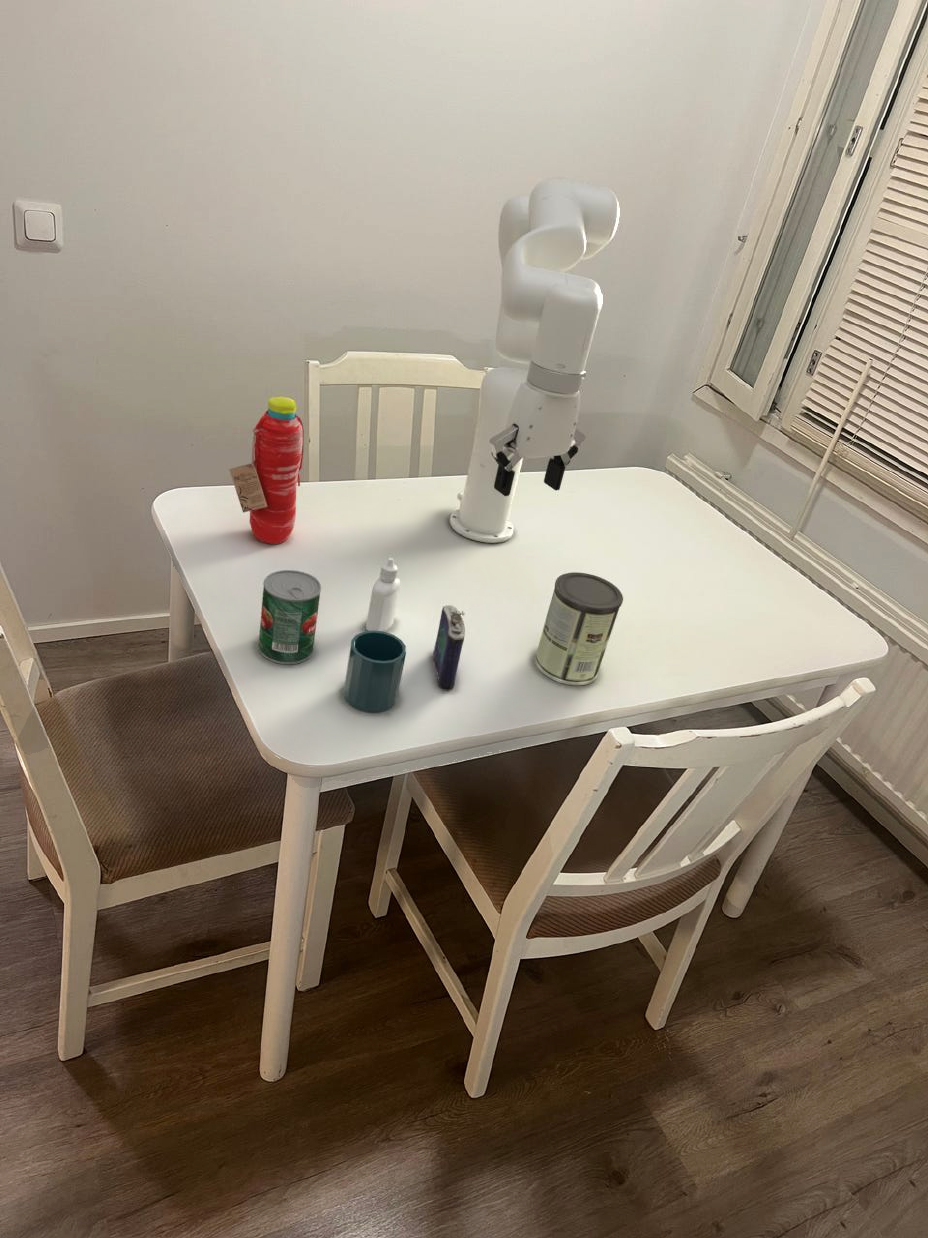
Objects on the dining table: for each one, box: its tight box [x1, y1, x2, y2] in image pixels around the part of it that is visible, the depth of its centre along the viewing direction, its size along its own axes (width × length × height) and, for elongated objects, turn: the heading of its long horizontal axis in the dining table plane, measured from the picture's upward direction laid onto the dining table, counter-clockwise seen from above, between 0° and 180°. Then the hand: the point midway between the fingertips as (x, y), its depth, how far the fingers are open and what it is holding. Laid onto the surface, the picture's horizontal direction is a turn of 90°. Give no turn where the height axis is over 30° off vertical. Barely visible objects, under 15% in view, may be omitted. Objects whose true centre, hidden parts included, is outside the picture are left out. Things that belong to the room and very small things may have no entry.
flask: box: [432, 604, 466, 691], centre depth 129 cm, size 9×3×11 cm, turn 8°
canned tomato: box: [257, 569, 322, 665], centre depth 126 cm, size 8×8×11 cm
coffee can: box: [534, 571, 624, 686], centre depth 136 cm, size 10×10×14 cm
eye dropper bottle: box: [365, 557, 401, 632], centre depth 136 cm, size 4×6×12 cm
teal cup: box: [343, 630, 407, 714], centre depth 122 cm, size 7×7×8 cm
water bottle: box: [228, 396, 305, 545], centre depth 148 cm, size 12×8×25 cm, turn 127°
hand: (526, 489), depth 134 cm, fingers open, 9 cm apart
